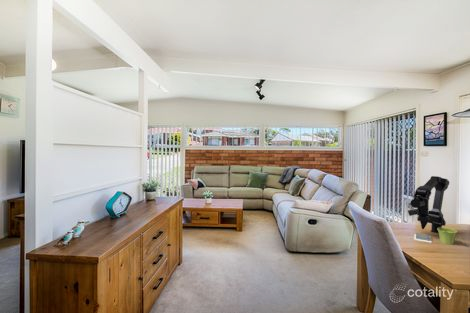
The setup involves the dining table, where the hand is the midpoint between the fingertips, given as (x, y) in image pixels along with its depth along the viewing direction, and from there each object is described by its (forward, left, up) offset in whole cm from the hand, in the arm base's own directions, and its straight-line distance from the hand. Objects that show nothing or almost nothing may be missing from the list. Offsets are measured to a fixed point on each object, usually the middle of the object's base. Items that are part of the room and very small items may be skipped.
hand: (422, 228), depth 164 cm
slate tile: (+2, 0, -4) cm, 4 cm away
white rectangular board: (+6, 0, -5) cm, 8 cm away
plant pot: (+7, +12, -6) cm, 15 cm away
